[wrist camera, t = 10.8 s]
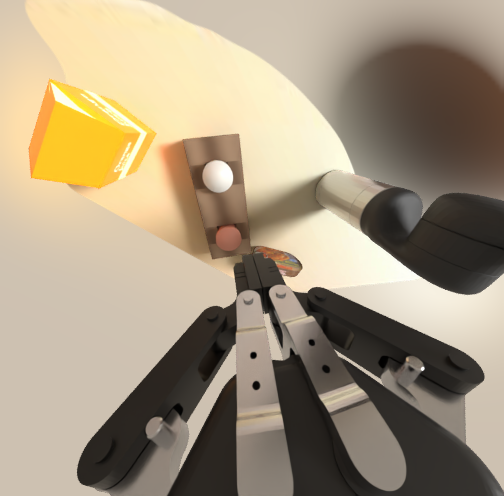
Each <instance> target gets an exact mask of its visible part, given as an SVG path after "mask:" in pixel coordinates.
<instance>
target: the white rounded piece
mask: <svg viewBox="0 0 504 496" xmlns="http://www.w3.org/2000/svg"><path fill="white" fill-rule="evenodd" d="M203 181H204V184H205V185H206V187H207V188H208V189H210V190H211V191H213V192H217V193H221V192H224V191H226V190H228V189H229V188H230V186H231V185H232V182H233V174H232V171H231V169H230V167H229V166H228V165H227V164H226V163H225V162H223V161H221V160H213V161H211V162H209V163H208V164H207V165H206V166H205V168H204V170H203Z"/></svg>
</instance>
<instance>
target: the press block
mask: <svg viewBox="0 0 504 496" xmlns="http://www.w3.org/2000/svg"><path fill="white" fill-rule="evenodd" d="M183 143H184V147H185V151H186V155H187V159H188V164H189V168H190V172H191V176H192V180H193V184H194V188H195V192H196V196H197V200H198V204H199V208H200V212H201V216H202V220H203V224H204V228H205V232H206V236H207V240H208V244H209V248H210V252H211V256H212V259H217V258H223V257H229V256H235V255H241V254H247V253H251V245H250V235H249V225H248V216H247V206H246V196H245V187H244V177H243V167H242V158H241V148H240V139H239V134H231V135H221V136H211V137H201V138H192V139H183ZM213 160H221V161H223V162H227V165H228V166H229V167H230V169H231V171H232V174H233V182H232V185H231V186H230V188H229V189H228V190H226V191H224V192H221V193H217V192H213V191H211V190H210V189H208V188H207V187H206V185H205V184H204V181H203V170H204V168H205V166H206V164H208V163H209V162H211V161H213ZM230 224H236V228H237V229H238V230H239V232H240V234H241V239H242V240H241V244H240V246H239V247H238V248H236V249H235V250H232V251H225V250H222V249H221V248H219V247H218V245H217V243H216V234H217V232H218V230H219V226H223V225H230Z"/></svg>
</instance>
